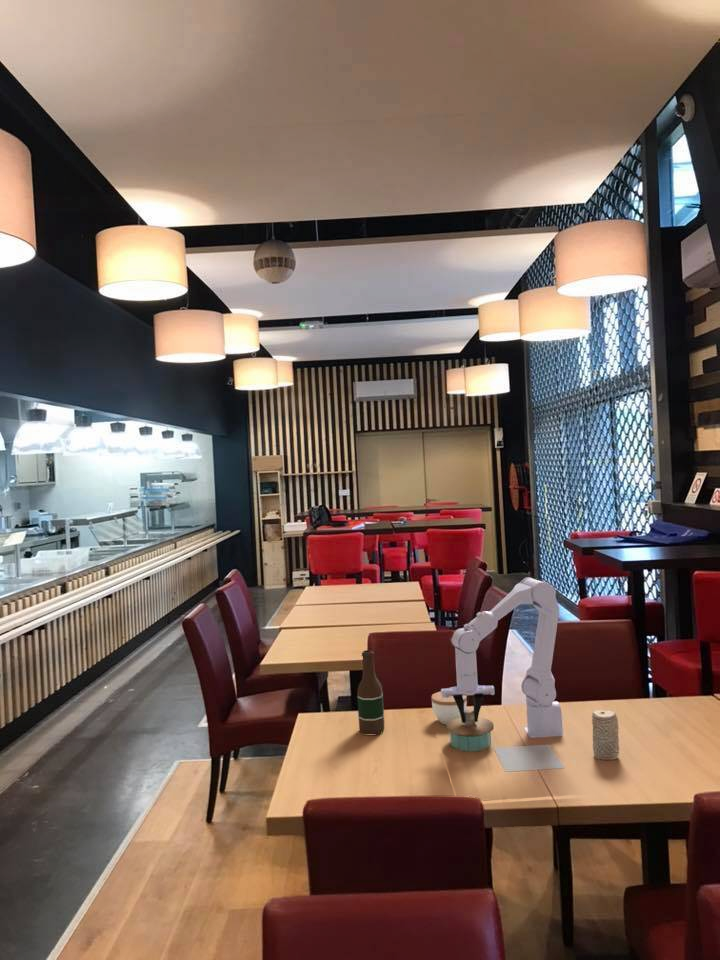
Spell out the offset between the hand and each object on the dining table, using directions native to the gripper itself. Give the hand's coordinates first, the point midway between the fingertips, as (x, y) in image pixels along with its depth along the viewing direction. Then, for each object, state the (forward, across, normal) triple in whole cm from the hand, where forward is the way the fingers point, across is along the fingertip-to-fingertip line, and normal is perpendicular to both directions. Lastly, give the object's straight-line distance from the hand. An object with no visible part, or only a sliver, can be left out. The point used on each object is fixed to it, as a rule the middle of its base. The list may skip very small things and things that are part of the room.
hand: (469, 721), depth 198 cm
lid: (+2, 0, 0) cm, 2 cm away
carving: (+7, +33, -14) cm, 37 cm away
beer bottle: (+7, -27, +15) cm, 32 cm away
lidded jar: (+7, -3, +19) cm, 20 cm away
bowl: (+7, 0, 0) cm, 7 cm away
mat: (+7, +13, -12) cm, 19 cm away
